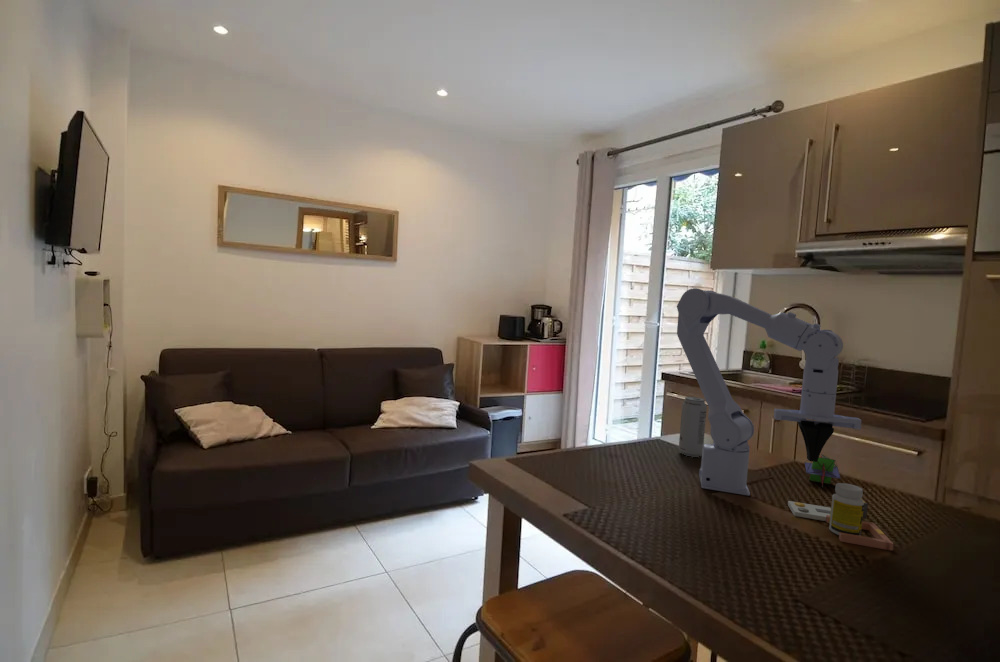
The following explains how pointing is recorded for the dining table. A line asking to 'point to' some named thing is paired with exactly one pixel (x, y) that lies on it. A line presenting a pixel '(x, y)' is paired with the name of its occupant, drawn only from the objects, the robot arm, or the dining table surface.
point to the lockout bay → (877, 542)
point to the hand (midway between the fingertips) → (812, 460)
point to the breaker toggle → (865, 509)
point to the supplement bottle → (847, 509)
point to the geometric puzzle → (822, 470)
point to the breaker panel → (809, 510)
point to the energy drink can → (692, 426)
